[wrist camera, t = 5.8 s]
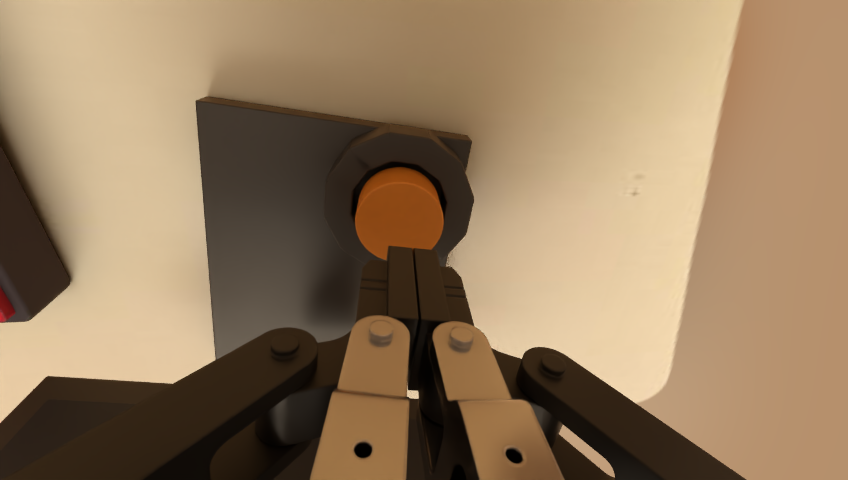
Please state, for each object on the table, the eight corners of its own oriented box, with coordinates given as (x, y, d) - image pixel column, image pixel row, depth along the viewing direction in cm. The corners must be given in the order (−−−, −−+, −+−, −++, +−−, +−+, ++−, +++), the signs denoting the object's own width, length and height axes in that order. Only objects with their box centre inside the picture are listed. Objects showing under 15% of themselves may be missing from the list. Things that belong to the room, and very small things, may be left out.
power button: (362, 160, 18) (359, 176, 16) (445, 172, 18) (451, 188, 16) (354, 236, 19) (351, 258, 17) (431, 244, 20) (435, 266, 18)
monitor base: (205, 90, 18) (174, 100, 16) (474, 130, 20) (486, 146, 17) (223, 354, 25) (203, 393, 22) (423, 368, 27) (427, 406, 24)
